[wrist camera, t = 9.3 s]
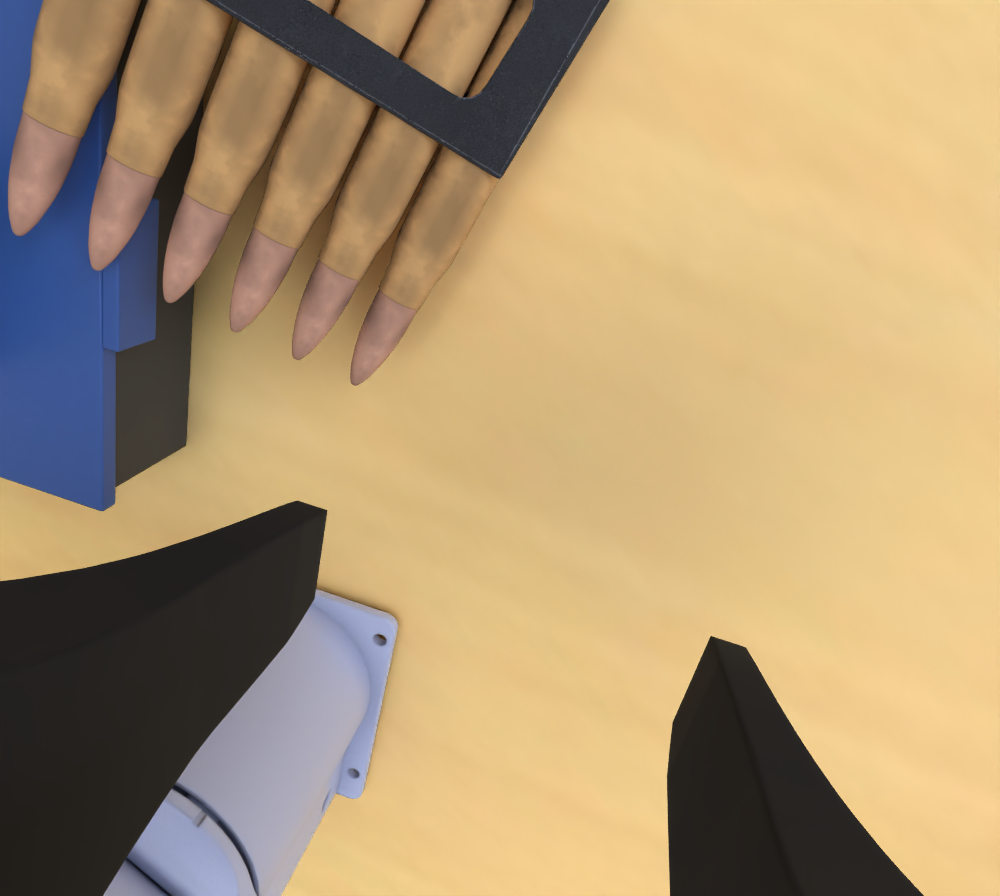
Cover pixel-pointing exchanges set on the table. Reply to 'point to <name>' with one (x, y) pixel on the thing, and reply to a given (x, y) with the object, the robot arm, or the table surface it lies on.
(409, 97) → the ammunition clip
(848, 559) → the table surface
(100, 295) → the container
